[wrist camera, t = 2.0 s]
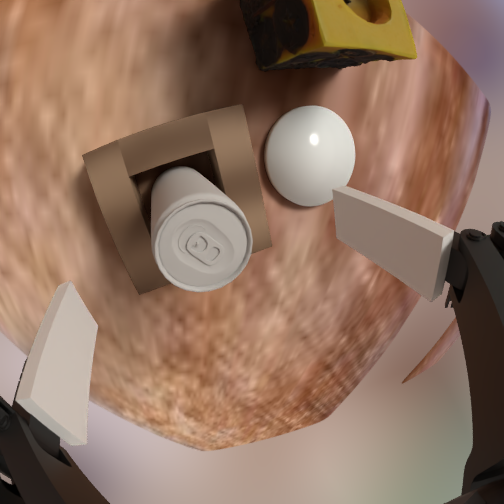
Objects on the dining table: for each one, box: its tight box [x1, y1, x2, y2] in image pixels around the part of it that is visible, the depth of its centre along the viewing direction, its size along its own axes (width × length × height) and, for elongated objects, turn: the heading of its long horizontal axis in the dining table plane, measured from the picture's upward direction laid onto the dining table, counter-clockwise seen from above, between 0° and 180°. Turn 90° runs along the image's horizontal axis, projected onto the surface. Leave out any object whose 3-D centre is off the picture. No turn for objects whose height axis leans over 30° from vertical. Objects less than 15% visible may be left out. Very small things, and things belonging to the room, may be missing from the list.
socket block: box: [82, 104, 272, 295], centre depth 21 cm, size 12×12×4 cm
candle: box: [240, 0, 417, 71], centre depth 14 cm, size 10×10×10 cm
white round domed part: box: [264, 106, 355, 206], centre depth 25 cm, size 10×10×1 cm
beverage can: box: [151, 166, 253, 292], centre depth 17 cm, size 5×5×12 cm
